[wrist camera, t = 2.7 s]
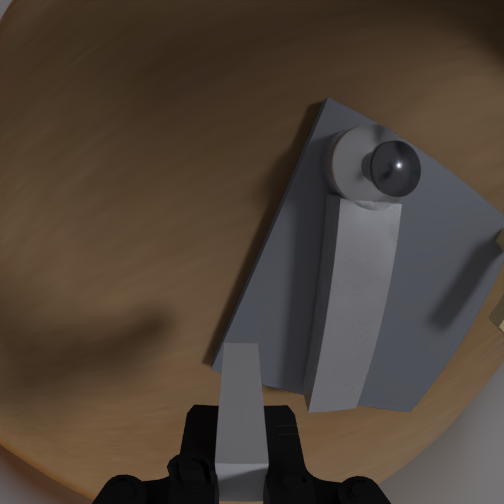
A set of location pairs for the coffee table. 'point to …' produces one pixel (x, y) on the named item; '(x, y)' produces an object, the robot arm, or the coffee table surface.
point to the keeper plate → (401, 284)
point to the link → (355, 259)
